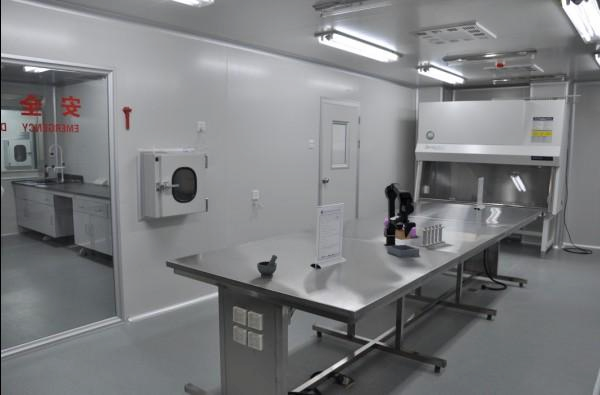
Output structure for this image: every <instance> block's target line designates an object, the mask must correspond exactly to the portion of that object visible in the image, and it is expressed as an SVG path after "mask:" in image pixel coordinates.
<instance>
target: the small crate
mask: <svg viewBox="0 0 600 395" xmlns="http://www.w3.org/2000/svg"><path fill="white" fill-rule="evenodd" d="M395 239H398V240H401V241H404V240H411V237H410V233H409V235H408V236H407V238H405V229H403V230H396V232H395Z"/></svg>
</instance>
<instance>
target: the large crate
mask: <svg viewBox="0 0 600 395" xmlns="http://www.w3.org/2000/svg"><path fill="white" fill-rule="evenodd" d="M386 247H387V248H386V249H387V250H386V253H388V254H390V253H391V254H390V255H392V256H395V255H396V257H398V258H405V257H407V256H408V257H416V256H415V255H418V256H420V249H419V248H417V247H416V246H411V245H408V244H395V246H386Z"/></svg>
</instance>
